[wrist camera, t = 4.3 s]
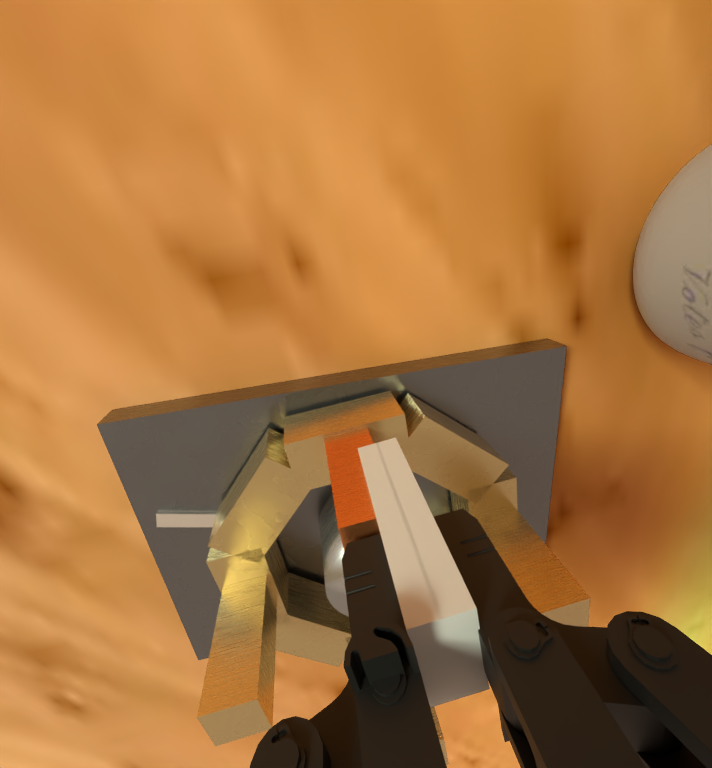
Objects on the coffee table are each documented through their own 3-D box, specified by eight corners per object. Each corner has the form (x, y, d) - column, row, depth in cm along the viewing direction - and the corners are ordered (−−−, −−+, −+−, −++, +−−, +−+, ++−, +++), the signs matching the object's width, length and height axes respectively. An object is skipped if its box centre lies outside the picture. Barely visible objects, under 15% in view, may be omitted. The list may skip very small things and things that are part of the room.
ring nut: (181, 442, 17) (103, 587, 10) (484, 367, 18) (607, 449, 11) (271, 645, 22) (262, 827, 15) (498, 578, 23) (585, 722, 16)
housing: (112, 409, 17) (38, 480, 12) (547, 338, 20) (635, 373, 15) (203, 635, 24) (179, 743, 18) (528, 561, 26) (586, 639, 21)
